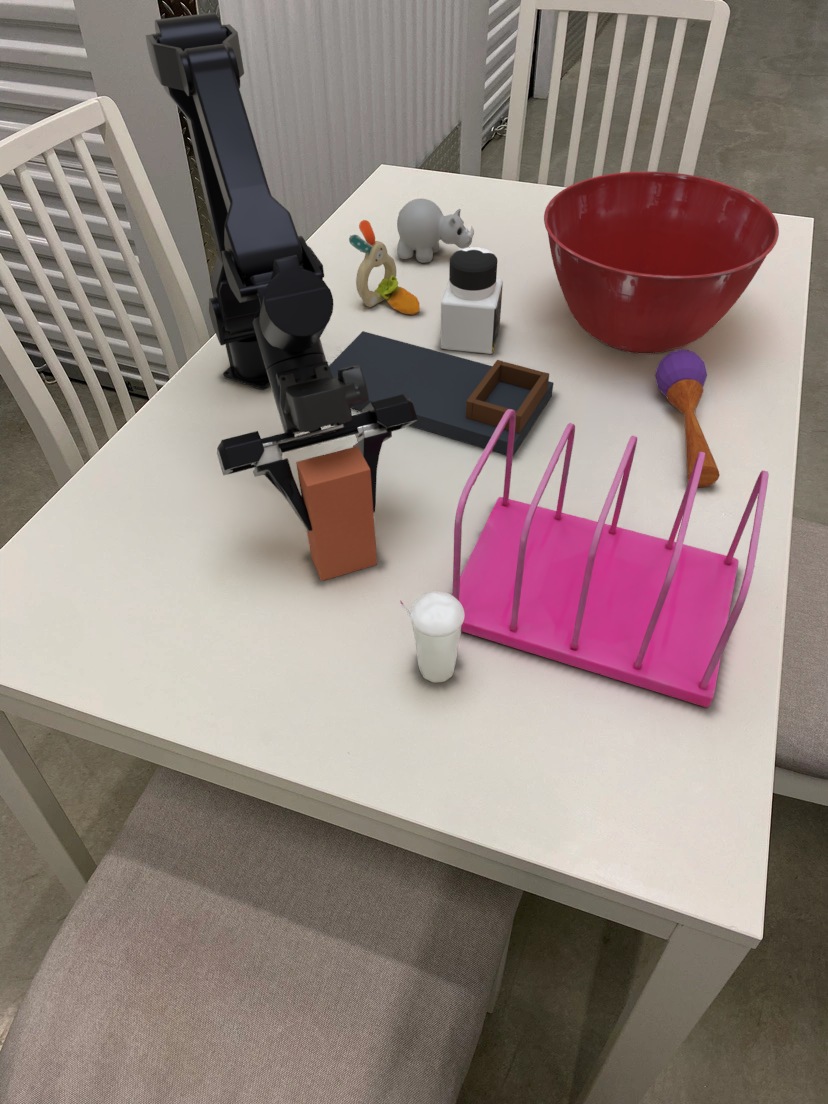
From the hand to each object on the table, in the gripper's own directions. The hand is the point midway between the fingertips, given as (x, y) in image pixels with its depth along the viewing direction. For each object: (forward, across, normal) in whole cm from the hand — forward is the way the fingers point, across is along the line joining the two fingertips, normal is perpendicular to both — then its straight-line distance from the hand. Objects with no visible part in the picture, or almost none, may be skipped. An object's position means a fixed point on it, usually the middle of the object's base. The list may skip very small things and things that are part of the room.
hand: (341, 521), depth 78 cm
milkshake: (+15, +3, -6) cm, 17 cm away
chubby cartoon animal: (-35, +33, +44) cm, 65 cm away
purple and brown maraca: (+1, +44, +8) cm, 45 cm away
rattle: (-27, +21, +37) cm, 50 cm away
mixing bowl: (-14, +51, +24) cm, 58 cm away
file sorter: (+14, +21, -4) cm, 26 cm away
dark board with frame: (-12, +19, +21) cm, 31 cm away
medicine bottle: (-19, +29, +28) cm, 45 cm away
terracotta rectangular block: (+4, 0, +5) cm, 7 cm away
